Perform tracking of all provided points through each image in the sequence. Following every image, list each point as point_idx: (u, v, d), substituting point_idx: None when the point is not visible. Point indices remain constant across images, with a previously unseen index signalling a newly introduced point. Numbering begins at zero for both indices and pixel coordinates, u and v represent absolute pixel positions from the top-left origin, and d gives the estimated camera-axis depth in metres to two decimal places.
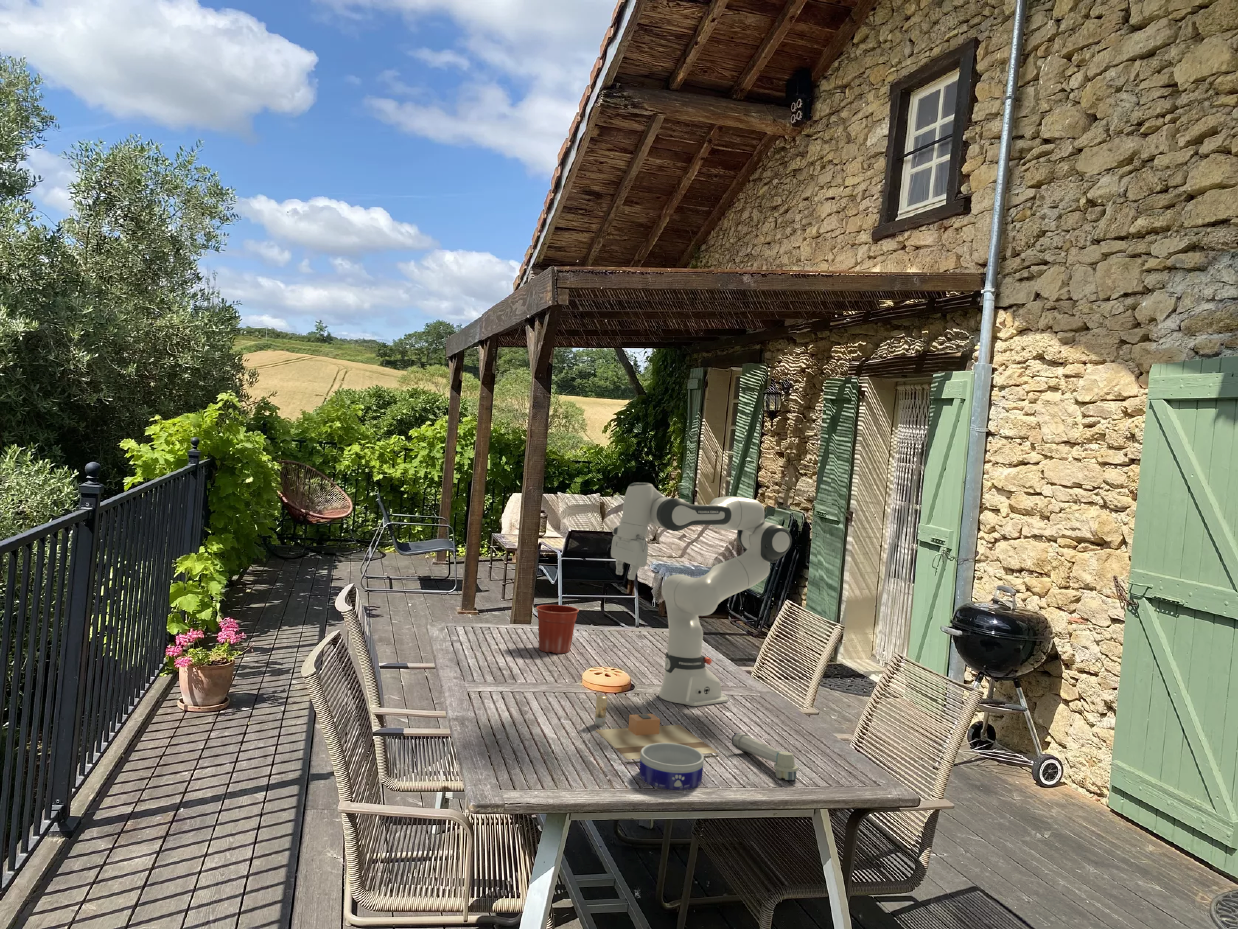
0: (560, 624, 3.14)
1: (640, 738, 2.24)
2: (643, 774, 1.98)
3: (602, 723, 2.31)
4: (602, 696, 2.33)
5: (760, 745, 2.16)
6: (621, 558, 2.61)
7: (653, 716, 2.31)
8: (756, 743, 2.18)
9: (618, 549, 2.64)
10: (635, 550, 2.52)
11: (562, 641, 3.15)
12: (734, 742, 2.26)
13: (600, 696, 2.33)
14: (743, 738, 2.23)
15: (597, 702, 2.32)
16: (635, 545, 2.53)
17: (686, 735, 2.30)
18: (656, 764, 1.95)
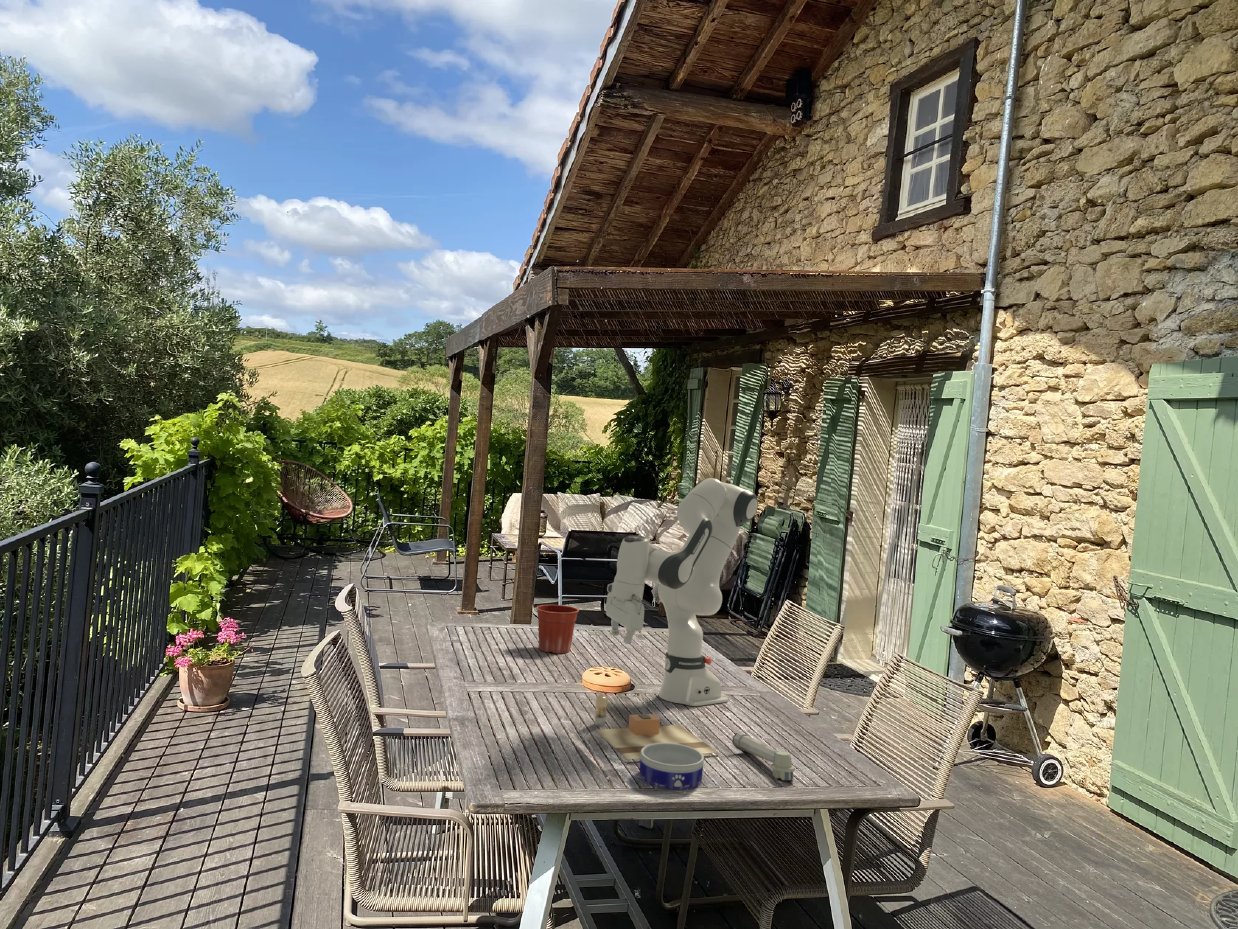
0: (560, 624, 3.14)
1: (640, 738, 2.24)
2: (643, 774, 1.98)
3: (602, 723, 2.31)
4: (602, 696, 2.33)
5: (759, 745, 2.16)
6: (616, 619, 2.41)
7: (653, 716, 2.31)
8: (755, 743, 2.18)
9: (613, 608, 2.44)
10: (630, 612, 2.32)
11: (562, 641, 3.15)
12: (734, 742, 2.26)
13: (600, 696, 2.33)
14: (743, 738, 2.23)
15: (597, 702, 2.32)
16: (630, 607, 2.33)
17: (686, 735, 2.30)
18: (656, 764, 1.95)
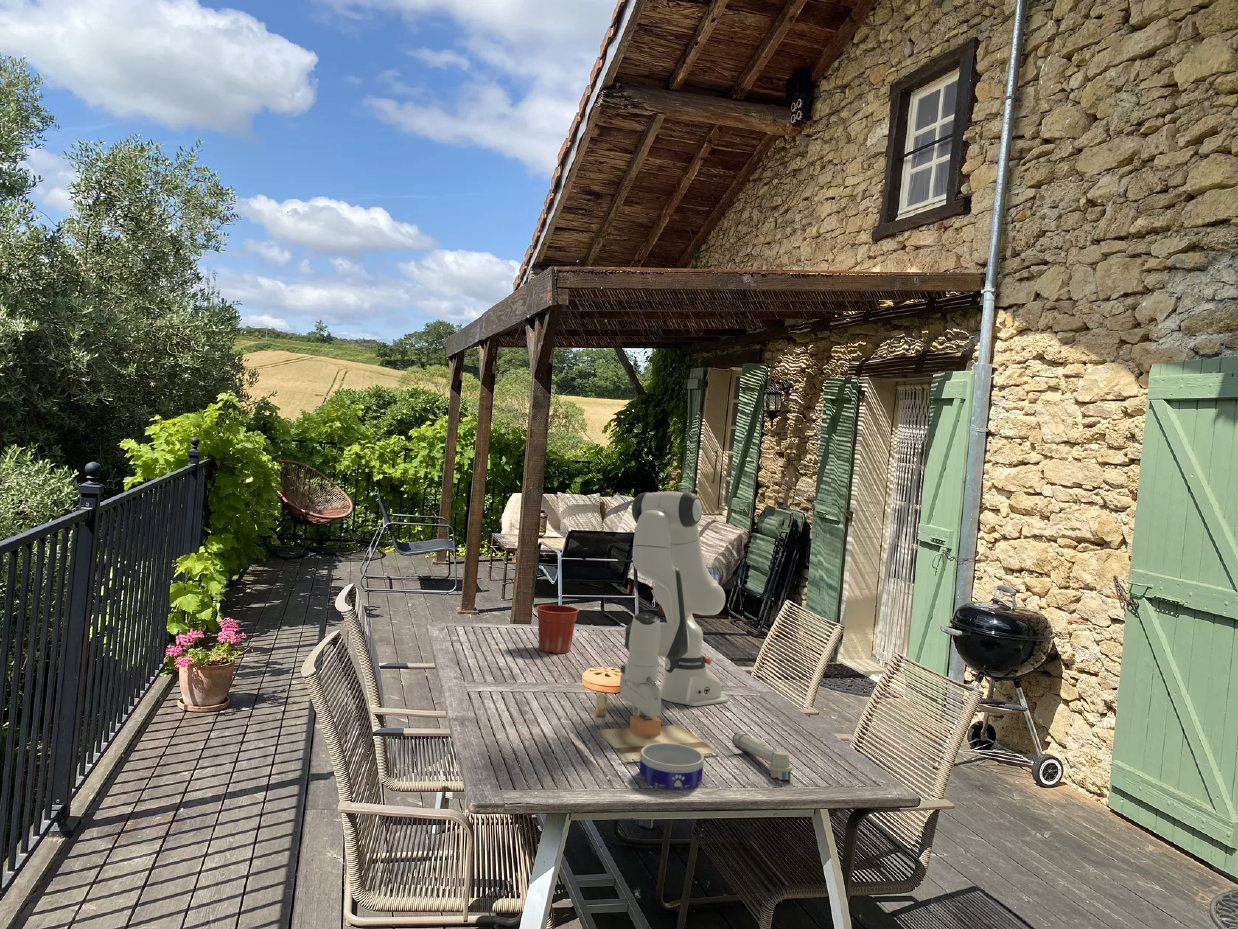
0: (560, 624, 3.14)
1: (640, 738, 2.24)
2: (643, 774, 1.98)
3: (602, 723, 2.31)
4: (602, 696, 2.33)
5: (758, 745, 2.17)
6: (632, 702, 2.33)
7: (654, 717, 2.30)
8: (754, 742, 2.18)
9: (628, 690, 2.36)
10: (647, 698, 2.25)
11: (562, 641, 3.15)
12: (734, 741, 2.26)
13: (600, 696, 2.33)
14: (743, 737, 2.24)
15: (597, 702, 2.32)
16: (646, 692, 2.25)
17: (686, 735, 2.30)
18: (656, 764, 1.95)
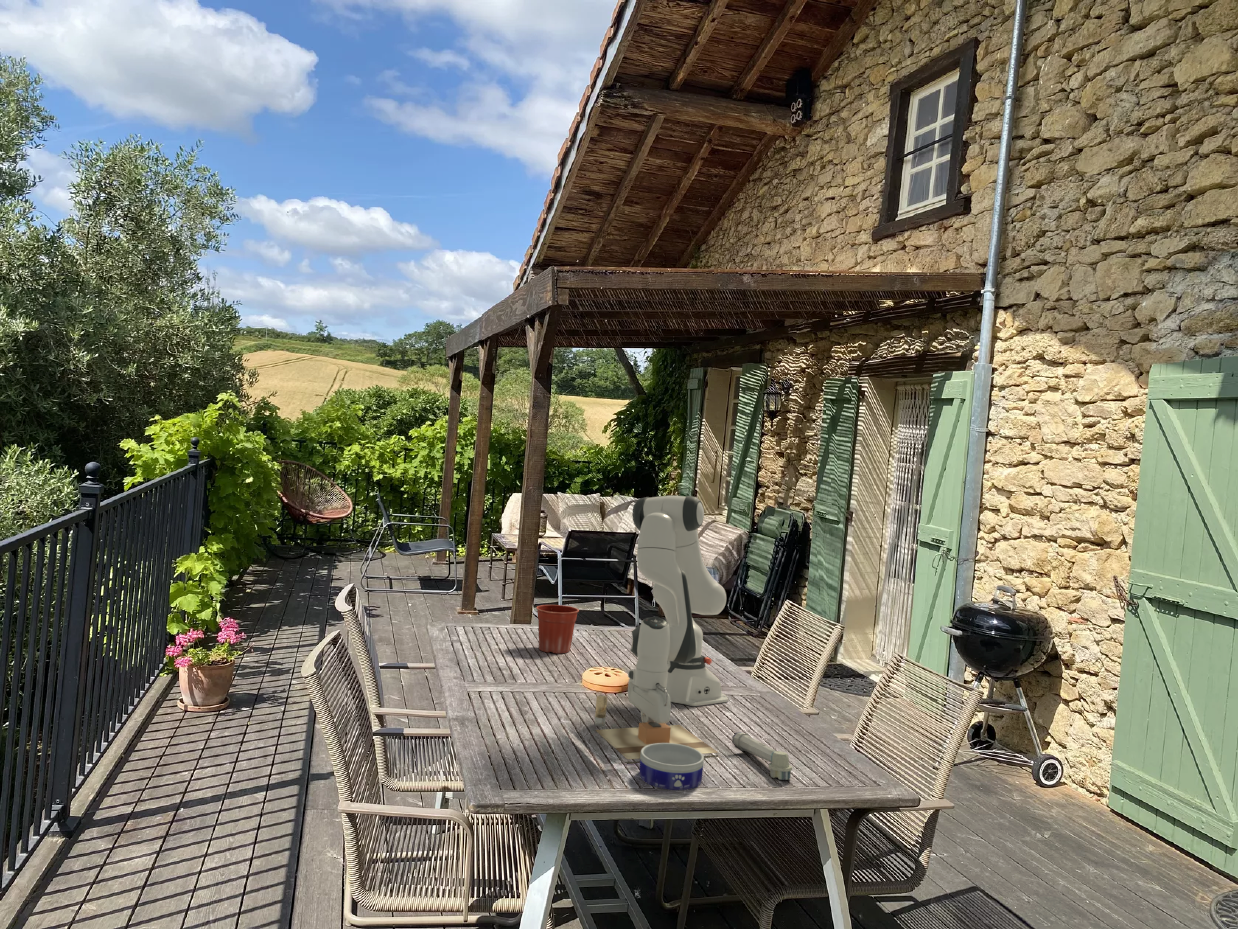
0: (560, 624, 3.14)
1: None
2: (643, 774, 1.98)
3: (602, 723, 2.31)
4: (602, 696, 2.33)
5: (757, 744, 2.17)
6: (640, 708, 2.27)
7: (663, 724, 2.25)
8: (754, 742, 2.18)
9: (636, 695, 2.30)
10: (656, 704, 2.19)
11: (562, 641, 3.15)
12: (734, 741, 2.26)
13: (600, 696, 2.33)
14: (742, 737, 2.24)
15: (597, 702, 2.32)
16: (656, 698, 2.20)
17: (686, 735, 2.30)
18: (656, 764, 1.95)
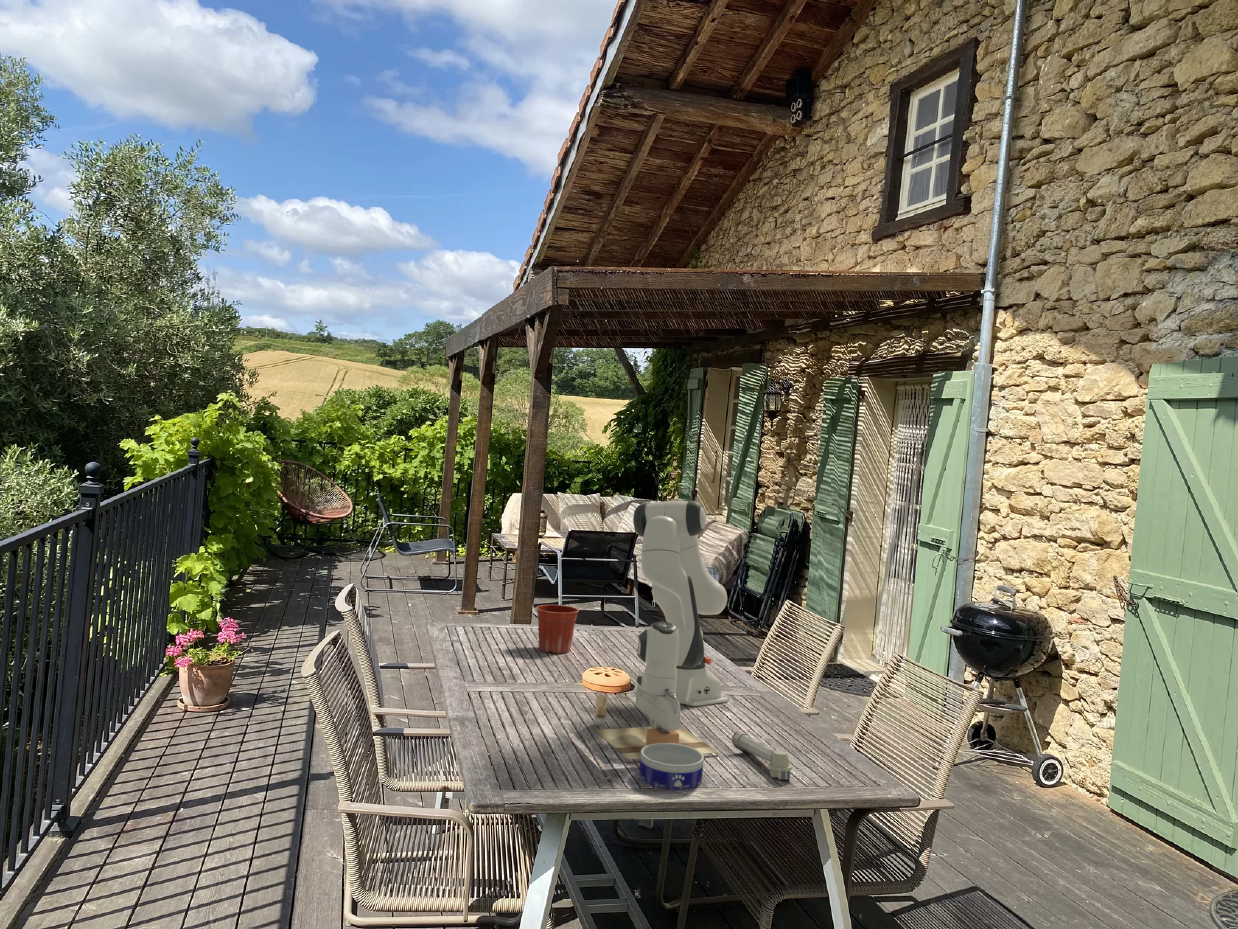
0: (560, 624, 3.14)
1: (640, 738, 2.24)
2: (643, 774, 1.98)
3: (602, 723, 2.31)
4: (602, 696, 2.33)
5: (757, 744, 2.17)
6: (649, 715, 2.22)
7: None
8: (754, 742, 2.19)
9: (645, 701, 2.25)
10: (665, 711, 2.14)
11: (562, 641, 3.15)
12: (734, 741, 2.27)
13: (600, 696, 2.33)
14: (742, 737, 2.24)
15: (597, 702, 2.32)
16: (665, 705, 2.14)
17: (686, 735, 2.30)
18: (656, 764, 1.95)
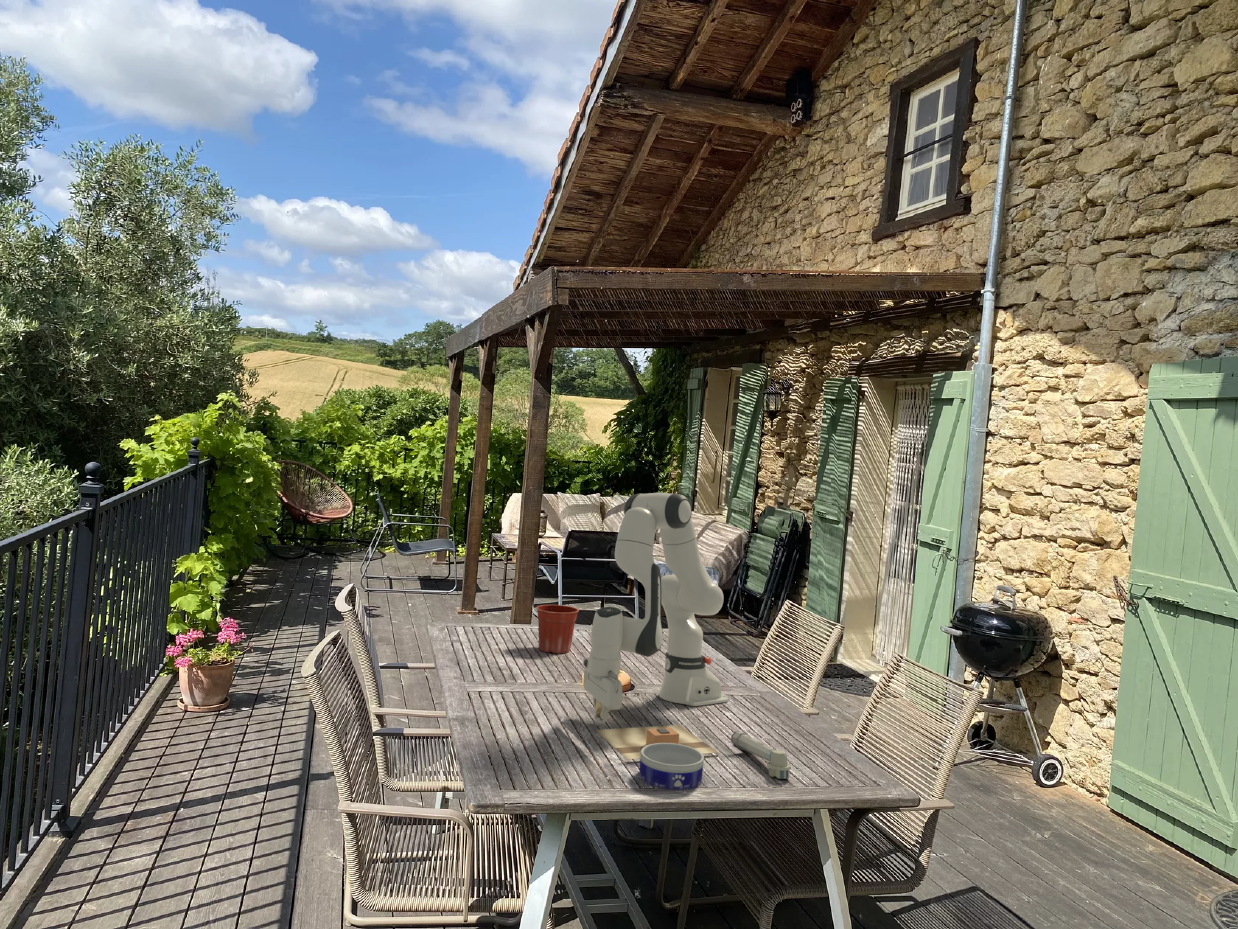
0: (560, 624, 3.14)
1: (640, 738, 2.24)
2: (643, 774, 1.98)
3: (602, 723, 2.31)
4: None
5: (756, 744, 2.17)
6: (594, 696, 2.33)
7: (672, 730, 2.20)
8: (753, 742, 2.19)
9: (591, 683, 2.36)
10: (608, 691, 2.24)
11: (562, 641, 3.15)
12: (733, 740, 2.27)
13: None
14: (741, 736, 2.24)
15: (597, 702, 2.32)
16: (608, 685, 2.25)
17: (686, 735, 2.30)
18: (656, 764, 1.95)
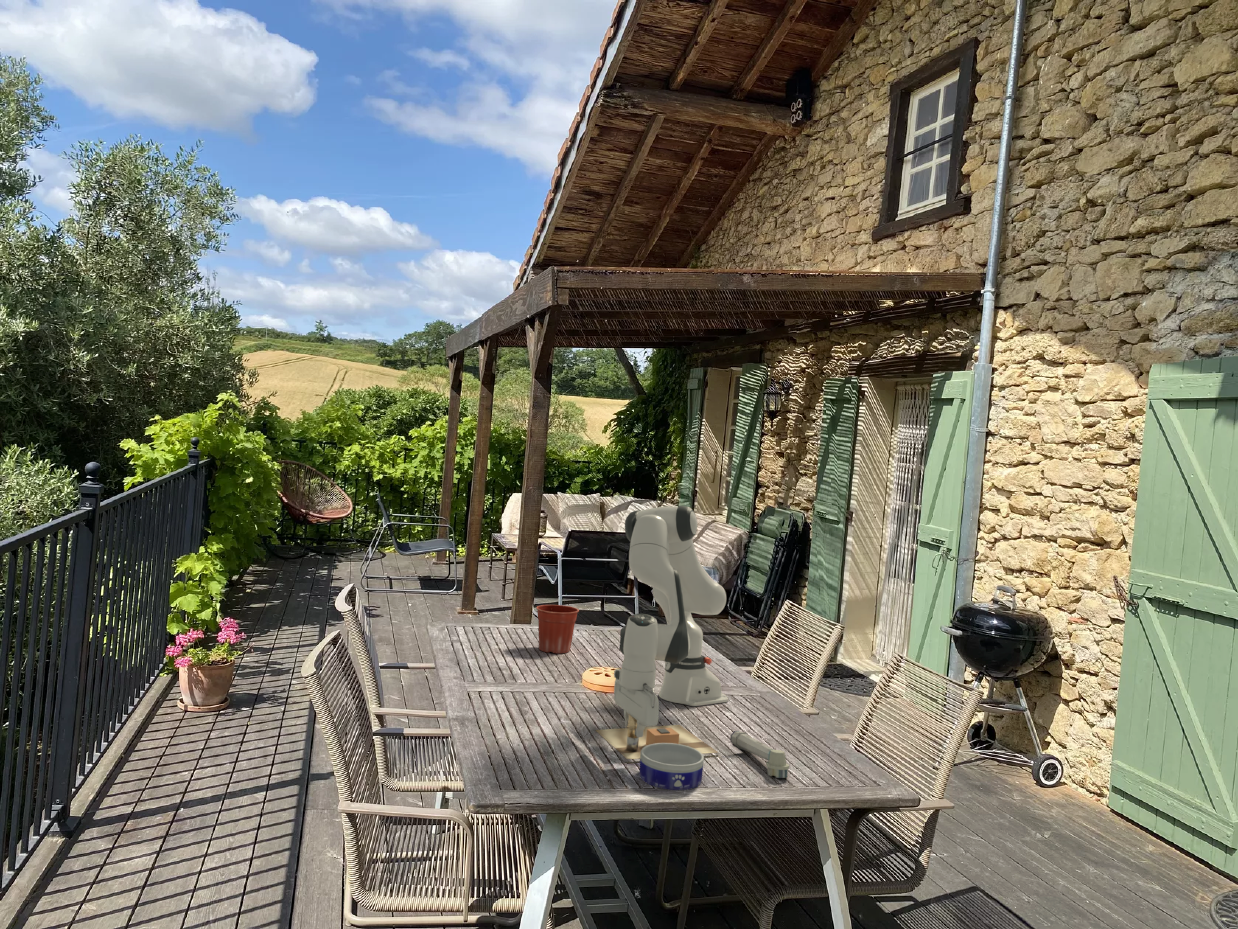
0: (560, 624, 3.14)
1: (640, 738, 2.24)
2: (643, 774, 1.98)
3: (635, 743, 2.13)
4: None
5: (755, 743, 2.18)
6: (627, 710, 2.15)
7: (672, 730, 2.20)
8: (752, 741, 2.19)
9: (623, 697, 2.18)
10: (643, 706, 2.06)
11: (562, 641, 3.15)
12: (732, 740, 2.27)
13: None
14: (740, 736, 2.25)
15: (629, 721, 2.14)
16: (643, 700, 2.07)
17: (686, 735, 2.30)
18: (656, 764, 1.95)
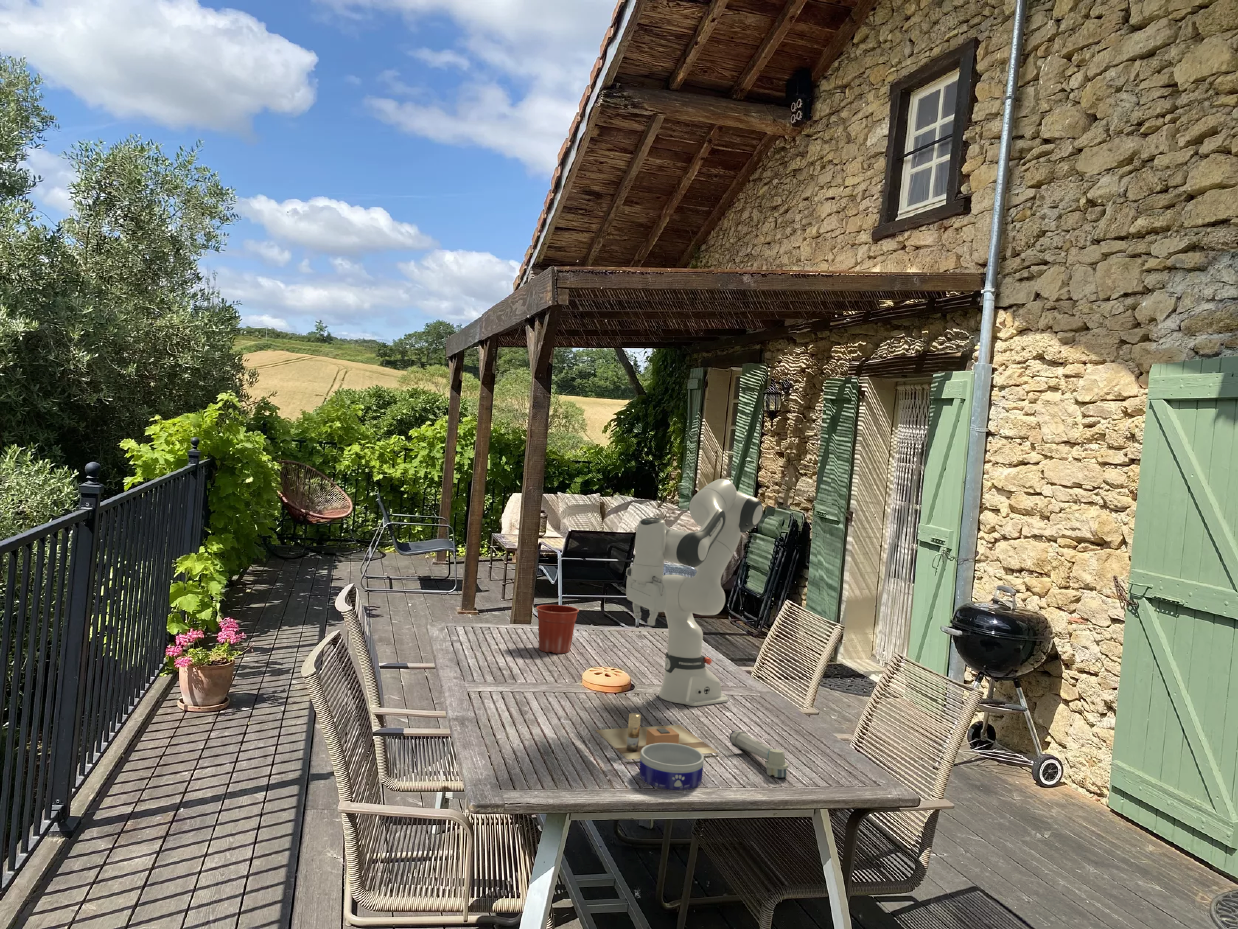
0: (560, 624, 3.14)
1: (640, 738, 2.24)
2: (643, 774, 1.98)
3: (635, 744, 2.13)
4: (635, 714, 2.15)
5: (754, 742, 2.18)
6: (638, 602, 2.41)
7: (672, 730, 2.20)
8: (751, 740, 2.20)
9: (634, 591, 2.44)
10: (652, 594, 2.33)
11: (562, 641, 3.15)
12: (731, 739, 2.28)
13: (633, 714, 2.15)
14: (740, 735, 2.25)
15: (630, 721, 2.14)
16: (652, 589, 2.33)
17: (686, 735, 2.30)
18: (656, 764, 1.95)
